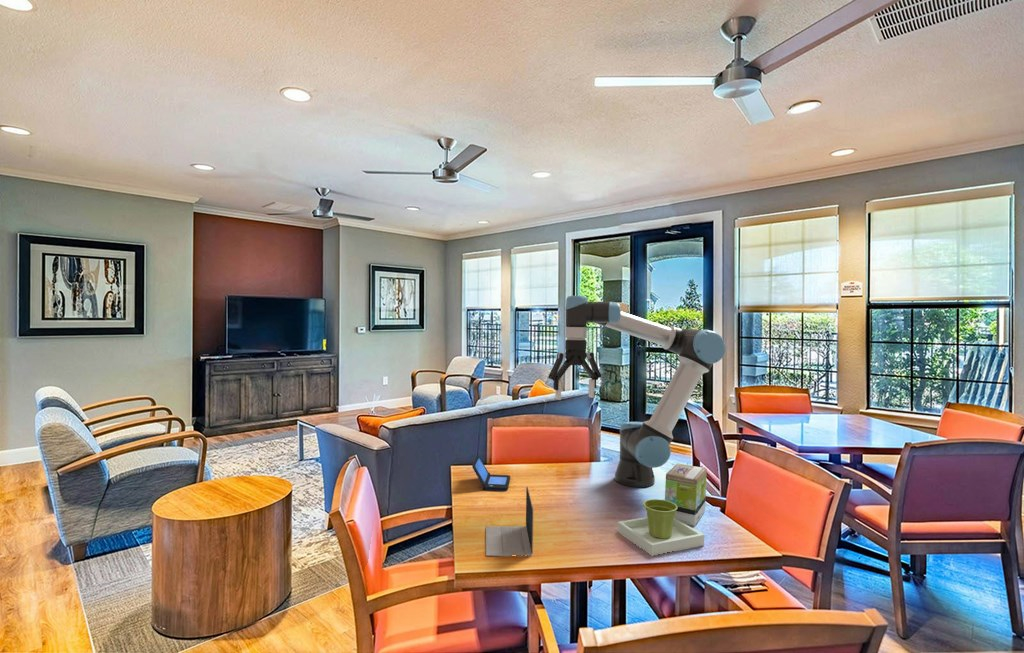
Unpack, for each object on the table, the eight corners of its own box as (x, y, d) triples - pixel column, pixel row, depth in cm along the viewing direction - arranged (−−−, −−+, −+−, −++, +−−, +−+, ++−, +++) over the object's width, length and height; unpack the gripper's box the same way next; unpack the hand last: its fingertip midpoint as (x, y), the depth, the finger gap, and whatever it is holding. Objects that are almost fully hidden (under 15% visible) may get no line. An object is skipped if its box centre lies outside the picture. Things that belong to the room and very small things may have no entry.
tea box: (696, 527, 152) (697, 479, 152) (663, 519, 158) (664, 473, 157) (706, 511, 165) (707, 466, 165) (675, 504, 170) (676, 461, 170)
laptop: (485, 528, 150) (486, 485, 149) (527, 528, 150) (527, 485, 150) (485, 558, 132) (486, 509, 131) (533, 557, 132) (533, 508, 132)
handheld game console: (507, 492, 181) (508, 466, 181) (471, 490, 182) (471, 465, 182) (510, 478, 197) (510, 455, 197) (477, 477, 198) (477, 453, 198)
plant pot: (653, 543, 139) (653, 512, 139) (637, 529, 148) (637, 500, 148) (683, 540, 141) (683, 510, 141) (666, 526, 150) (666, 498, 150)
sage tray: (666, 523, 155) (666, 513, 155) (704, 545, 140) (704, 534, 140) (617, 531, 148) (617, 521, 148) (651, 556, 133) (652, 545, 133)
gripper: (600, 338, 186) (599, 395, 186) (539, 338, 176) (538, 398, 177) (611, 339, 179) (610, 398, 179) (549, 339, 169) (548, 401, 170)
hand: (575, 398), depth 178 cm, fingers open, 13 cm apart
